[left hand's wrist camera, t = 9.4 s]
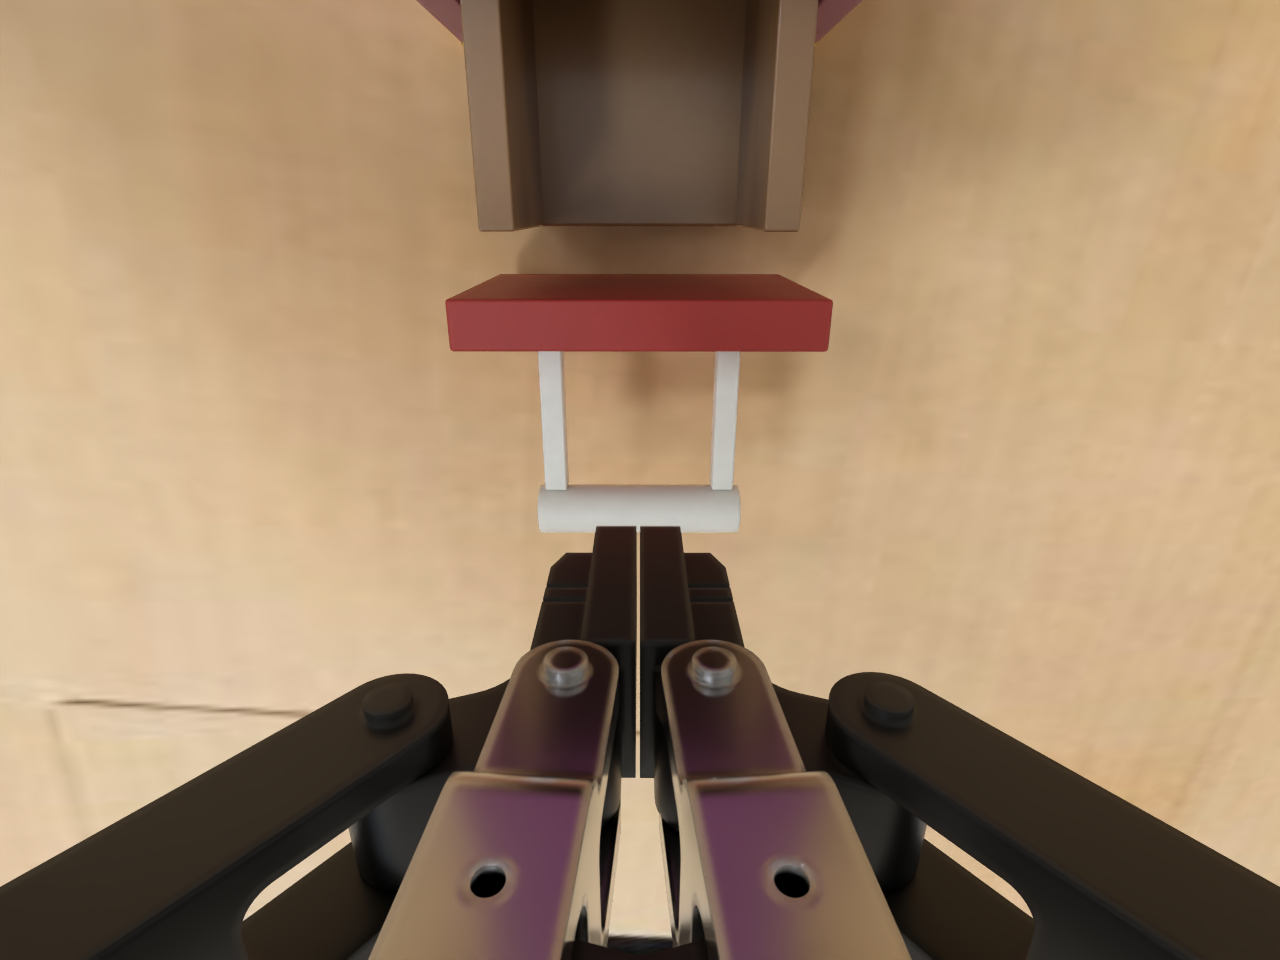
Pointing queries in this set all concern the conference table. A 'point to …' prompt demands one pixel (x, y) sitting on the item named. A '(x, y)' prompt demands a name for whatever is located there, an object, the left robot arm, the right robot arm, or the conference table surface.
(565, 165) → the drawer
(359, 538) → the conference table surface
